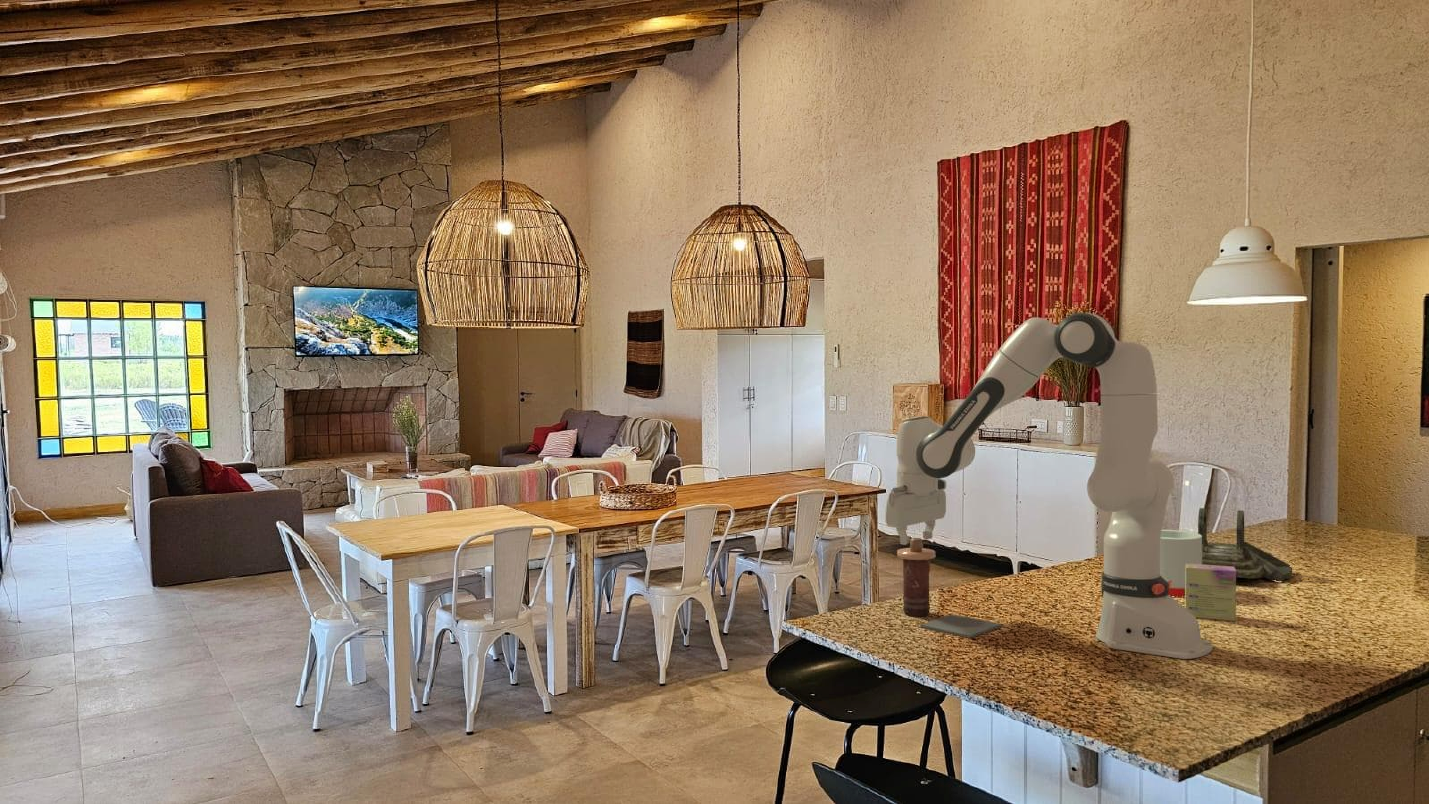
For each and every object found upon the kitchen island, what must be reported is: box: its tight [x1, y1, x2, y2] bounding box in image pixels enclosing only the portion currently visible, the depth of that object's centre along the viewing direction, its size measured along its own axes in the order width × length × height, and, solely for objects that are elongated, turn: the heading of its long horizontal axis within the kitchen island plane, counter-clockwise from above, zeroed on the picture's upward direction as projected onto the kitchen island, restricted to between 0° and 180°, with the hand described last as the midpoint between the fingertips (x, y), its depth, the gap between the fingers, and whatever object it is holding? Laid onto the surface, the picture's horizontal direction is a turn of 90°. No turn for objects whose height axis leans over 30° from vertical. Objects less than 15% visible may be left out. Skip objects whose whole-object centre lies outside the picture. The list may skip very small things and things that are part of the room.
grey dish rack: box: [1197, 507, 1293, 582], centre depth 268 cm, size 35×34×18 cm
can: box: [902, 559, 931, 618], centre depth 228 cm, size 6×6×14 cm
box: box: [1184, 563, 1237, 622], centre depth 221 cm, size 10×6×12 cm, turn 65°
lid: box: [896, 537, 936, 560], centre depth 228 cm, size 9×9×4 cm
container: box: [1160, 529, 1202, 598], centre depth 248 cm, size 16×16×15 cm
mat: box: [919, 613, 1002, 639], centre depth 216 cm, size 13×13×1 cm
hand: (916, 541), depth 228 cm, fingers open, 8 cm apart
